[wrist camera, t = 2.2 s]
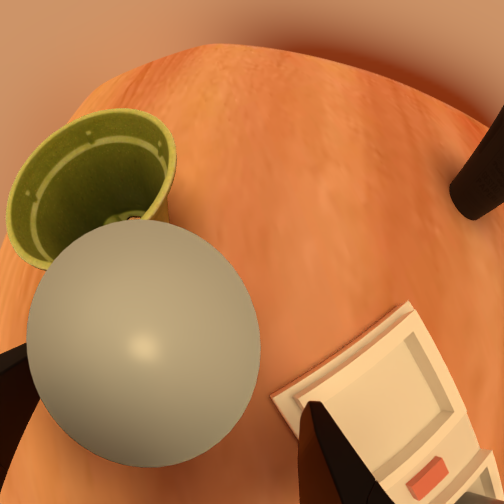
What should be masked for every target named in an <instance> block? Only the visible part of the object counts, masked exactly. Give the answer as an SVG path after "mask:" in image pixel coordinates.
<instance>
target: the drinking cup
mask: <svg viewBox="0 0 504 504" xmlns="http://www.w3.org/2000/svg"><path fill="white" fill-rule="evenodd" d="M450 195H451V198H452V200H453V202H454V204H455V206H456V207H457V209H458V210H459V211H460V212H461V213H462V214H463V215H464V216H465V217H467V218H468V219H471V220H477V219H478V218H480V217H482V216H483V215H485V214H486V213H488V212H490V211H491V210H493V209H494V208H496V207H497V206H499V205H500V204H502V203H504V106H503V107H502V109H501V111H500V112H499V114H498V116H497V118H496V119H495V121H494V122H493V124H492V126H491V127H490V129H489V130H488V132H487V133H486V135H485V136H484V138H483V139H482V141H481V142H480V144H479V145H478V147H477V148H476V150H475V151H474V153H473V154H472V155H471V157H470V158H469V160H468V161H467V162H466V164H465V165H464V167H463V168H462V169H461V171H460V172H459V173H458V175H457V176H456V177H455V179H454V180H453V181H452V183H451V184H450Z"/></svg>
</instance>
